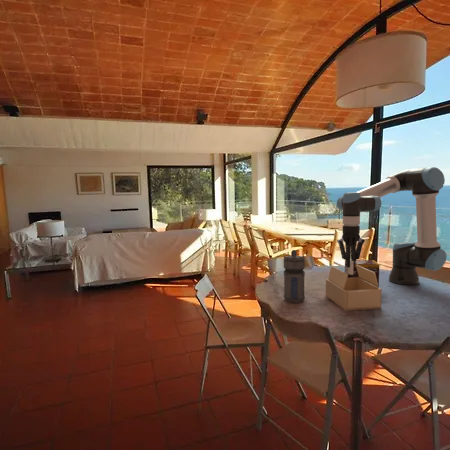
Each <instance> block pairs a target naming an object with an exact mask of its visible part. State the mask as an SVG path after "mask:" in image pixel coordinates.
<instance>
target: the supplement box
mask: <svg viewBox="0 0 450 450" xmlns="http://www.w3.org/2000/svg"><path fill="white" fill-rule="evenodd" d="M356 265H359V266H361V267H363V268H366V269H368V270H370V271H373V272H375V274H376V278H377V282H378V286H376V285H374V284H372V283H370V282H368V281H366V280H364V279H362V278H360V277H359V275H358V271H357V267H356ZM347 272H348V267H346V260H344V273H346V274H348V273H347ZM354 277H358V278H360V279H362V280H364V281H366V282H368V283H370V284H372V285H374V286H376V287H378V288H380V263H378V262H377V261H376V260H374V259H357V260H356V261H355V267H353V275H350V274H348V276H347V278H354Z"/></svg>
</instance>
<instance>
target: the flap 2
mask: <svg viewBox="0 0 450 450" xmlns="http://www.w3.org/2000/svg"><path fill="white" fill-rule="evenodd" d="M356 267H357V271H358V275H359V277H360V278H362V279H364V280H366V281H368V282H370V283H372V284H374V285H376V286H378V282H377V278H376V274H375V272H373V271H370V270H368V269H366V268H363V267H361V266H359V265H356Z"/></svg>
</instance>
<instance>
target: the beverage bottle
mask: <svg viewBox="0 0 450 450" xmlns="http://www.w3.org/2000/svg"><path fill="white" fill-rule="evenodd" d="M290 253H291V255H287V256H286V255H284V256H283V268H284V270H283V280H284V281H283V282H284V283H283V284H284V285H283V286H284V287H283V289H284V292H283V293H284V294H283V298H284V300H285V302H288V303H294V304H298V303H302V302H304V300H305V277H306V276H305V275H306V272H305V270H304V269H305V266H306V264H305V263H306V261H305V259H306V258H305V256H304V255H303V256H301V255H297V250H295V249H292V251H291V252H290Z"/></svg>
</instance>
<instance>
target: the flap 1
mask: <svg viewBox="0 0 450 450" xmlns="http://www.w3.org/2000/svg"><path fill="white" fill-rule="evenodd" d="M347 276H348V274H346V273H345V271H342V270H341V269H338V268H337V267H335V266H332V265H331V266H330V270H329V274H328V278H327V279H329V280H331V281H333V282H334V283H336V284H337V285H339V286H341V287H342V288H344V287H345V284H346V280H347Z"/></svg>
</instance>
